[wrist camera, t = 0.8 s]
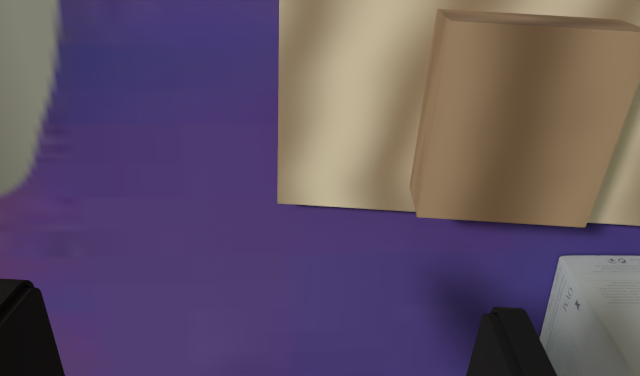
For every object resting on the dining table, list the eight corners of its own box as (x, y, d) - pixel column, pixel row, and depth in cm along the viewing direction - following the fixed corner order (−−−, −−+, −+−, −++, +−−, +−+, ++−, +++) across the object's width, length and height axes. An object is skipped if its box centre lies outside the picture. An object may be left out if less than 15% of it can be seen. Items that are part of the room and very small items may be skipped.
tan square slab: (618, 19, 22) (656, 32, 19) (560, 196, 26) (585, 227, 23) (437, 8, 22) (450, 21, 19) (409, 187, 26) (417, 217, 23)
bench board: (932, -3, 22) (1128, 23, 16) (794, 224, 28) (905, 298, 22) (282, -40, 22) (263, -27, 17) (280, 192, 28) (265, 258, 22)
